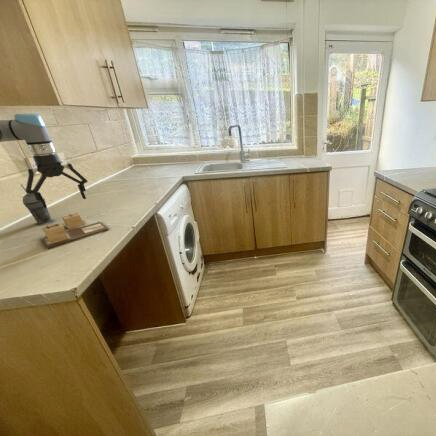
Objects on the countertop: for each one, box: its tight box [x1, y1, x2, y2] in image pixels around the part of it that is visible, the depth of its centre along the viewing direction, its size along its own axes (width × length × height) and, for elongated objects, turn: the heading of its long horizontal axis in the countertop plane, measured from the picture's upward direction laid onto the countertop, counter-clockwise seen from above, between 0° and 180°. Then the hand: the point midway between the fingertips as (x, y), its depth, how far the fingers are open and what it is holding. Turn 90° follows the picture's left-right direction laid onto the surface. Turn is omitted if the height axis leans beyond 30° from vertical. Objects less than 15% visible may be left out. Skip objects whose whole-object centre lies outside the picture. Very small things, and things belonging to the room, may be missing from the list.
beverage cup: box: [20, 183, 52, 225], centre depth 112 cm, size 7×7×20 cm
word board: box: [42, 221, 109, 250], centre depth 104 cm, size 12×20×1 cm, turn 141°
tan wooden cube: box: [61, 212, 85, 230], centre depth 112 cm, size 6×6×6 cm
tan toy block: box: [41, 222, 68, 243], centre depth 99 cm, size 6×6×6 cm
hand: (65, 202), depth 109 cm, fingers open, 13 cm apart
